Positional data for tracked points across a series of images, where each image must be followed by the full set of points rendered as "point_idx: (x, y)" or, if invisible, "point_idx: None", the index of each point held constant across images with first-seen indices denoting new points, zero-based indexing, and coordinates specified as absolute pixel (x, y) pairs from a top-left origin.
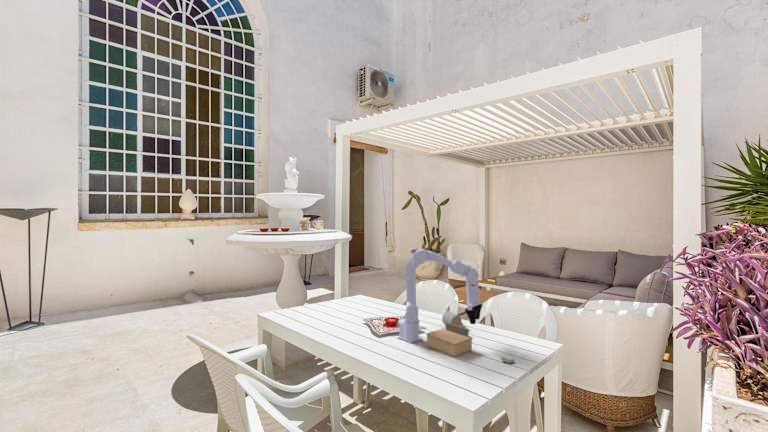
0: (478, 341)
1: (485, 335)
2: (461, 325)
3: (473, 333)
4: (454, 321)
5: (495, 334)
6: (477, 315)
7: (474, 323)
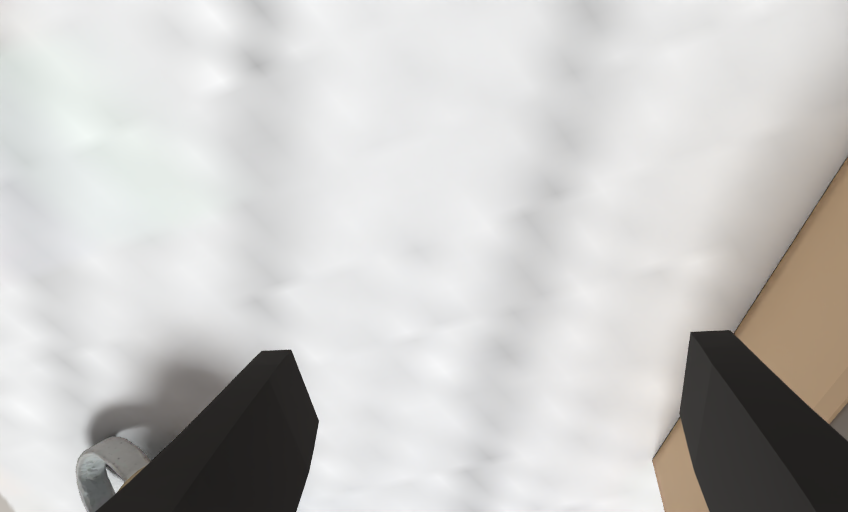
0: (439, 149)
1: (159, 151)
2: (134, 445)
3: (216, 289)
4: None
5: (11, 50)
6: (262, 453)
7: (746, 348)
